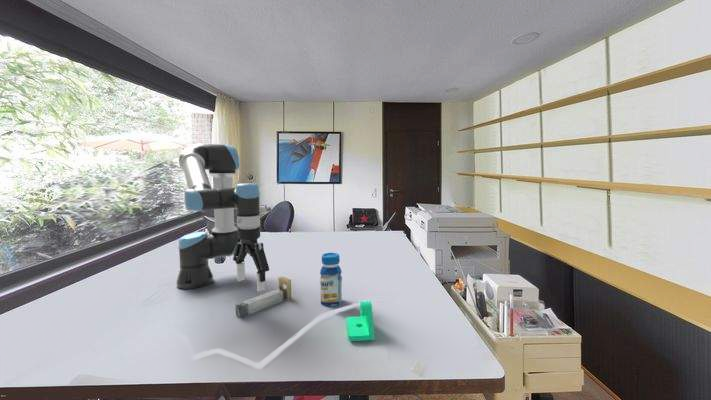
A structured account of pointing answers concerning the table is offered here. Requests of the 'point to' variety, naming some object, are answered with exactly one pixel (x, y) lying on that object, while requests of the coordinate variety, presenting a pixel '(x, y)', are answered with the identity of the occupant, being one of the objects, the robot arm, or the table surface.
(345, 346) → the table surface
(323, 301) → the beverage bottle
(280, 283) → the brushed brass block
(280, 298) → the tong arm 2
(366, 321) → the camera mount
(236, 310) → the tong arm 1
